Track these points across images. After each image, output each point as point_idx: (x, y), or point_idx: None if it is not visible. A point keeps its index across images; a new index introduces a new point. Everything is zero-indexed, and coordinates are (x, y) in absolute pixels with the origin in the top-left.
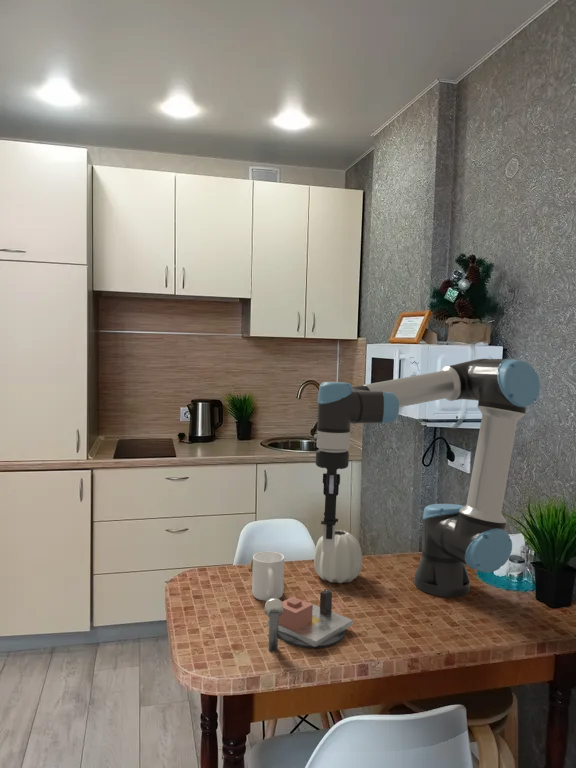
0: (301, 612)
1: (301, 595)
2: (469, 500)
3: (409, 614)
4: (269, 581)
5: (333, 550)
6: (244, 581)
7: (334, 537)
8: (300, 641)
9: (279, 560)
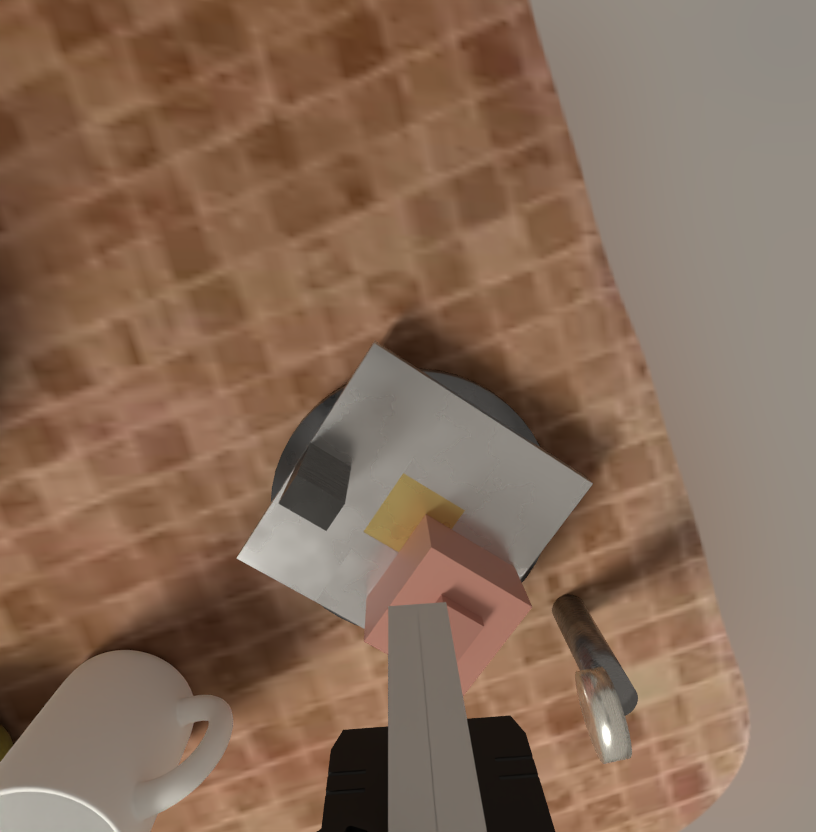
0: (497, 581)
1: (90, 574)
2: None
3: (140, 50)
4: (216, 763)
5: (446, 619)
6: None
7: (463, 701)
8: None
9: None
